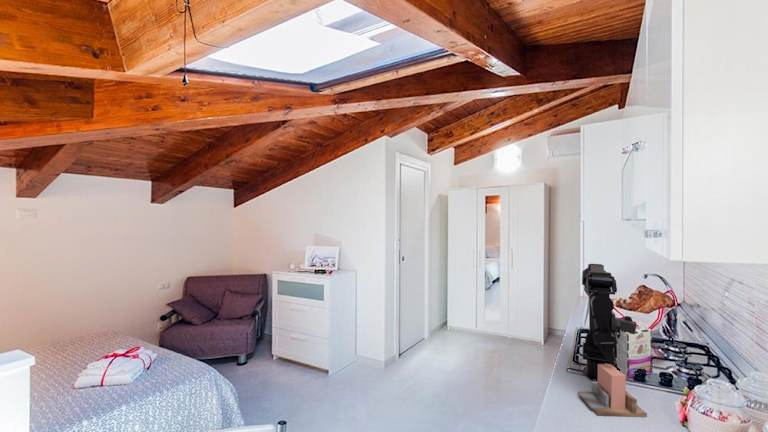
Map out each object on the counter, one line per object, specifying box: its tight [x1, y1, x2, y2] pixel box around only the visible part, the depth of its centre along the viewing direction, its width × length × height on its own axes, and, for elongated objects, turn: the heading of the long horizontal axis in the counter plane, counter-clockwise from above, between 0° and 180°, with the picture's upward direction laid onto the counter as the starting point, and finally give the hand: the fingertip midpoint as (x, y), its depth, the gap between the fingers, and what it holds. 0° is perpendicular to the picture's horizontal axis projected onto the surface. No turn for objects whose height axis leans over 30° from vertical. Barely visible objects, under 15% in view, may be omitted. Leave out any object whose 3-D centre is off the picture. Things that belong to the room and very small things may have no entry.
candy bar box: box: [616, 325, 652, 379], centre depth 135 cm, size 11×5×16 cm, turn 106°
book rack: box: [577, 382, 648, 418], centre depth 114 cm, size 12×15×5 cm
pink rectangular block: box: [596, 363, 627, 409], centre depth 114 cm, size 8×4×10 cm, turn 177°
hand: (613, 361), depth 117 cm, fingers open, 9 cm apart
